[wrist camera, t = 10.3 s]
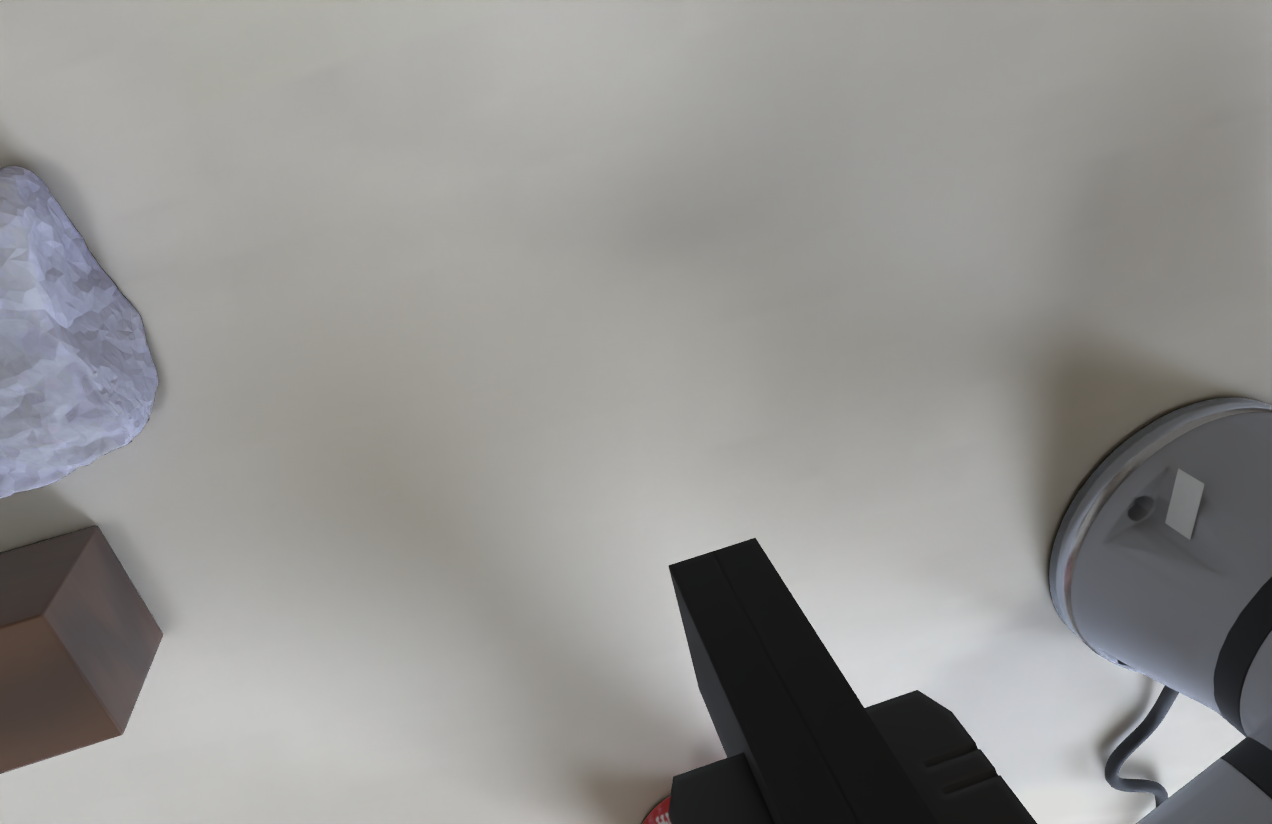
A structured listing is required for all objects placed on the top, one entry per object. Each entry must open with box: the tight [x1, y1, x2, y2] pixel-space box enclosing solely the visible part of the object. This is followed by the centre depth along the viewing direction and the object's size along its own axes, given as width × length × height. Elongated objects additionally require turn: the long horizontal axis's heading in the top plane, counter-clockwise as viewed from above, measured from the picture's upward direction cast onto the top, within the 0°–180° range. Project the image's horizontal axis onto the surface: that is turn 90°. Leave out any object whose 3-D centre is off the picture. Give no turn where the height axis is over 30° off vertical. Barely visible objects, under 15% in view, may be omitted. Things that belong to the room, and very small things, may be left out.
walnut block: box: [0, 526, 163, 774], centre depth 31 cm, size 6×6×6 cm
